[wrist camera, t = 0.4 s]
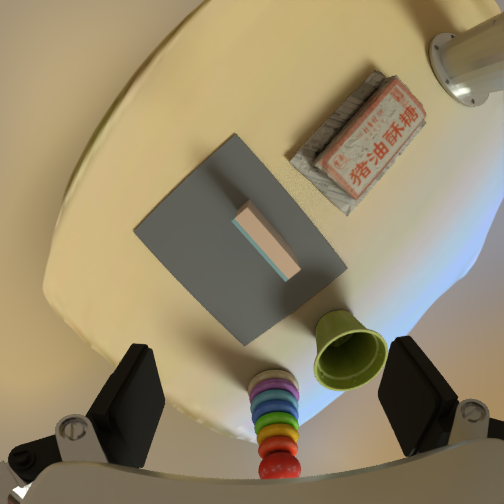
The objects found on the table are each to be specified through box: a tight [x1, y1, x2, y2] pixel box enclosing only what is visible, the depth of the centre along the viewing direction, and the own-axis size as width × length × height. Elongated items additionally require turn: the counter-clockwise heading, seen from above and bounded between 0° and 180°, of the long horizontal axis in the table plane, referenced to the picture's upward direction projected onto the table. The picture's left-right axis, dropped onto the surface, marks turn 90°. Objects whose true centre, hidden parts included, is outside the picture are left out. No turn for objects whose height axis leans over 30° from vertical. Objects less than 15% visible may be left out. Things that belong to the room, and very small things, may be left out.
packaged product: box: [290, 70, 426, 216], centre depth 31 cm, size 18×5×10 cm
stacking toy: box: [248, 370, 301, 479], centre depth 34 cm, size 8×8×19 cm
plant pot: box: [314, 310, 388, 391], centre depth 35 cm, size 9×9×9 cm
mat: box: [134, 134, 348, 346], centre depth 36 cm, size 18×22×1 cm
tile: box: [232, 199, 301, 282], centre depth 32 cm, size 2×8×8 cm, turn 41°
